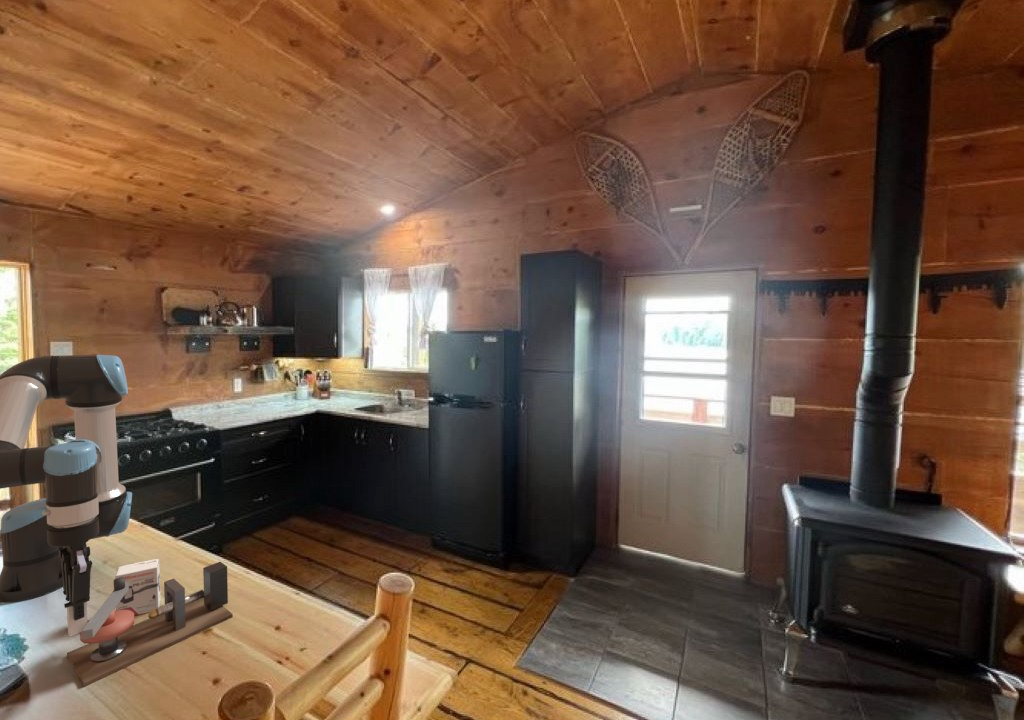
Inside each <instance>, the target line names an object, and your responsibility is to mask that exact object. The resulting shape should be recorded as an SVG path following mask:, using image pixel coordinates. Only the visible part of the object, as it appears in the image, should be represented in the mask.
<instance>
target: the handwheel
mask: <svg viewBox="0 0 1024 720" xmlns="http://www.w3.org/2000/svg"><path fill="white" fill-rule="evenodd" d="M128 590H129V582H125V577H119V578H116V579H115V578H114V579H113V591H112V592H111V593H110V594H109V596H108V597H107V598H106V599H105V601H104V602H103V603H102V604H101V605H100V607H99V608H98V609H97V611H96V612H95V613H94V615H93V616H92V617H91V618H90V619H89V620H87V625H86V626H85V627H84V628H83V630H82V631H81V632H79V640H80V642H82V643H83V644H86V645H87V644H93V643H100V642H104V641H107V640H110V639H113V638H115V637H118V636H120V635H121V634H123V633H125V632H126V631H128V630H129V629H130V628H131V627H132V626H133V625H135V616H134V613H133V612H132V611H130V610H117V611H116V606H117V605H118V603H119V602H120V600H121V599H122V598H123V596H124V595H125V594H126V592H127V591H128Z"/></svg>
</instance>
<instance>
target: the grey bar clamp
mask: <svg viewBox="0 0 1024 720" xmlns="http://www.w3.org/2000/svg"><path fill="white" fill-rule="evenodd" d="M202 572H203V589H200V590H198V591H195V592H192V593H190V594H187V595H185V605H187V604H189V603H192V602H194V601H197V600H199V599H201V598H204V605H205V606H206V607H207V608H208V609H209V610H214V609H216V608H218V607H220V606H225V605H227V604H229V594H228V593H229V591H228V589H229V587H228V586H229V585H228V566H227V564H224V563H223V562H222V561H218V562H215V563H212V564H210V565H208V566H204V567H203V570H202ZM170 611H173V601H172V602H170V603H167V604H165V603H164V604H163V605H159V607H158V608H154V609H152V610H150V611H149V612H147V617H148V619H155V618H156V617H158V616H160V615H163V614H165V613H168V612H170Z"/></svg>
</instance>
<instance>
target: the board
mask: <svg viewBox="0 0 1024 720" xmlns="http://www.w3.org/2000/svg"><path fill="white" fill-rule="evenodd" d="M233 616H234V614H233V612H231V611H230V610H228V609H227V608H226V607H225V605H223V606H220V607H218V608H216V609H214V610H209V609H208V608H207V607H206V606H205V605H204V598H201V599H199V600H197V601H194V602H192V603H189V604H187V605H185V620H186V627H184V628H182V629H180V630H178V631H175V630H174V629H173V620H172V621H170V622H167V621H166V620H165V614H163V615H160V616H158V617H156V618H155V619H150V618H148V619H147V618H146V619H145V620H142V621H140V622H137V623H134V624H133V626H132V627H131V628H130V629H129V630H128V631H126V632H125V633H123V634H121V635H120V636H118V641H125V642H126V644H127V647H126V650H125V651H124V652H123V653H122V654H120V655H119V656H117V657H115V658H113V659H111V660H108V661H104V662H98V663H97V662H92V661H91V659H90V656H91V653H92V652H93V651H94V650H95V649H97V648H98V647H99V643H93V644H87V643H86V644H84V645H83V646H80V647H78V648H75V649H73V650H70V651H68V652H66V657H67V659H68V661H69V662H70V663H71V666H72V668H73V669H74V671H75V673H76V675H77V676H78V678H79V680H80V682H81V683H82V685H83V687H86V686H89V685H91V684H94V683H95V682H97V681H100V680H102V679H104V678H106V677H108V676H110V675H113V674H115V673H116V672H118V671H121V670H123V669H125V668H127V667H129V666H131V665H134V664H136V663H138V662H140V661H142V660H144V659H146V658H148V657H151V656H153V655H155V654H157V653H159V652H161V651H163V650H166V649H167V648H170V647H172V646H174V645H176V644H178V643H180V642H182V641H185V640H187V639H189V638H190V637H191V638H192V637H193V636H196V635H197V634H200V633H201V631H202V632H204V631H206V630H208V629H210V628H212V627H214V626H217V625H219V624H221V623H223V622H225V621H227V620H229V619H231V618H233ZM114 672H115V673H114Z"/></svg>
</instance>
